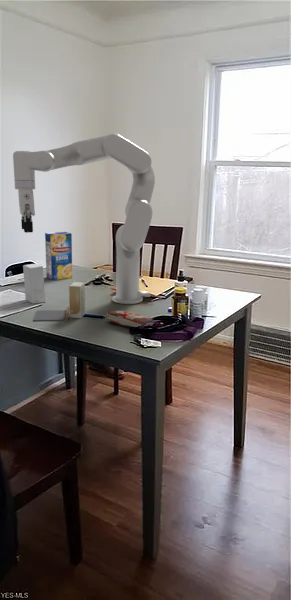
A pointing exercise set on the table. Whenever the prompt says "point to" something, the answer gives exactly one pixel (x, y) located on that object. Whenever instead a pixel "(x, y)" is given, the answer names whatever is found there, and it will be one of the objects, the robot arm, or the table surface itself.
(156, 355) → the table surface
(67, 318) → the stop strip
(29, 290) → the skincare box
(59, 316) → the mat
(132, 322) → the pencil case
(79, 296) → the skincare box
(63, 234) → the beverage box
